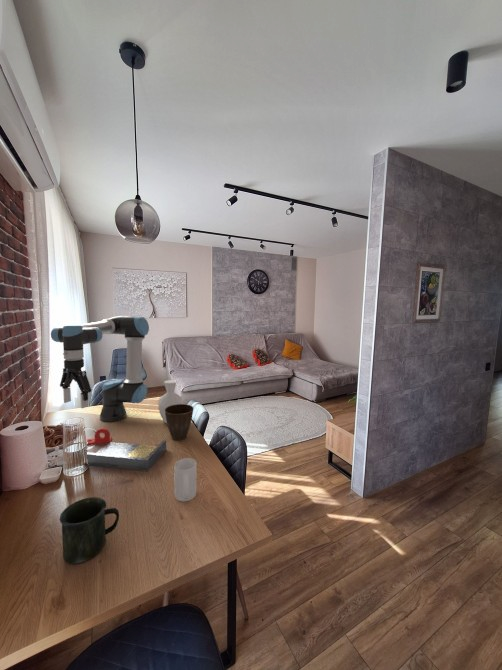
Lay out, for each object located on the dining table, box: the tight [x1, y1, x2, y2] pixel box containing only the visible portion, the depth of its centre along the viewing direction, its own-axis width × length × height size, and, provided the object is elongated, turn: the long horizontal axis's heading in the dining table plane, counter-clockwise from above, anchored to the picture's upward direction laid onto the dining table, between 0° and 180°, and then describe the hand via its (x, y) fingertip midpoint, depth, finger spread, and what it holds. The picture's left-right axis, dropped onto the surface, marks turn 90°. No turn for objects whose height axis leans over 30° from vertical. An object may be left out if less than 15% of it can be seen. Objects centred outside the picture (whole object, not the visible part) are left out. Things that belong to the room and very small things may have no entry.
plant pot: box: [165, 403, 194, 441], centre depth 146 cm, size 15×15×16 cm
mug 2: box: [173, 457, 198, 502], centre depth 99 cm, size 8×12×12 cm
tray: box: [86, 439, 167, 472], centre depth 126 cm, size 18×30×5 cm, turn 82°
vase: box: [158, 379, 183, 424], centre depth 167 cm, size 14×14×25 cm
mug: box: [59, 496, 120, 565], centre depth 78 cm, size 11×15×12 cm
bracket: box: [86, 427, 113, 446], centre depth 139 cm, size 12×4×8 cm, turn 102°
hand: (75, 404), depth 123 cm, fingers open, 13 cm apart
